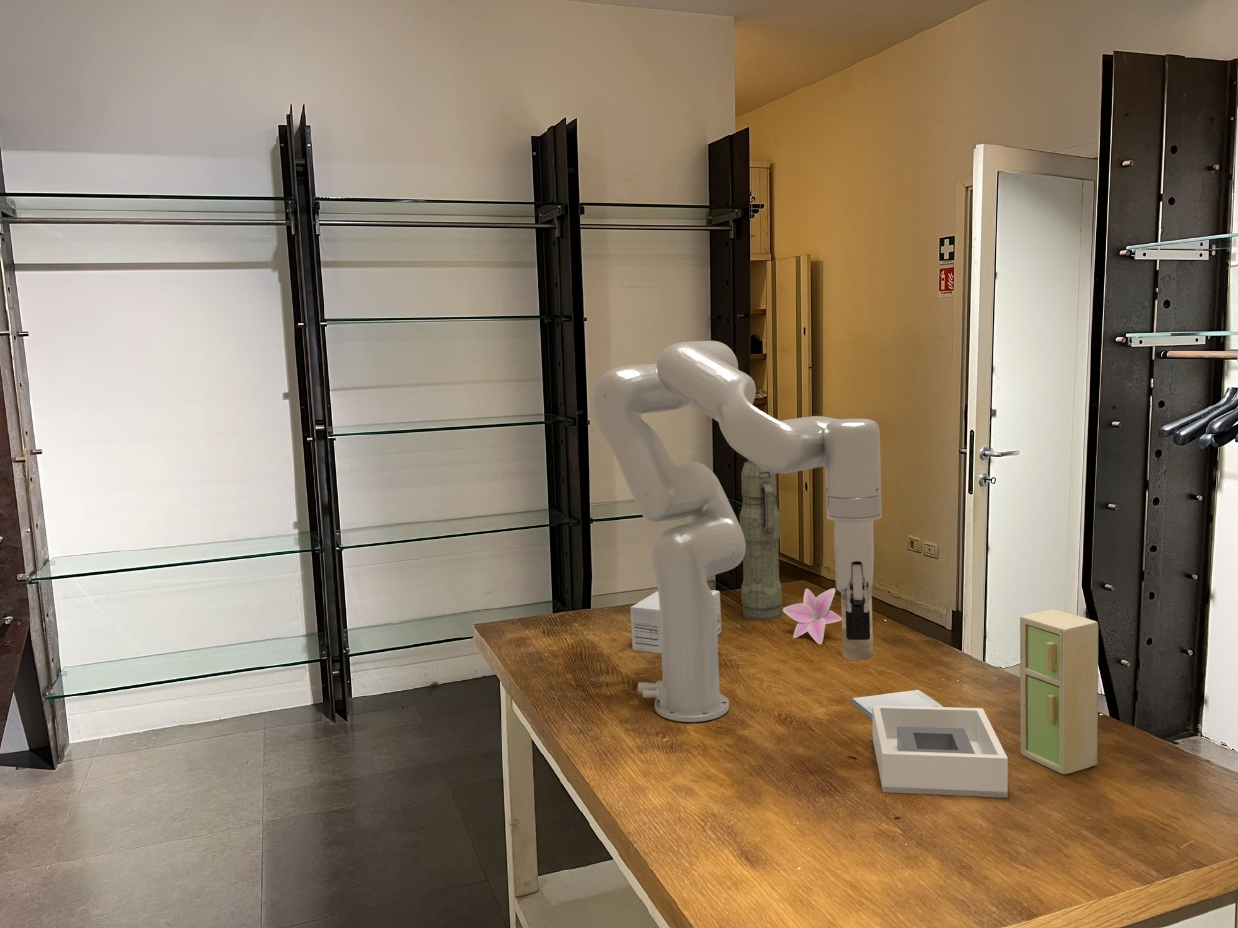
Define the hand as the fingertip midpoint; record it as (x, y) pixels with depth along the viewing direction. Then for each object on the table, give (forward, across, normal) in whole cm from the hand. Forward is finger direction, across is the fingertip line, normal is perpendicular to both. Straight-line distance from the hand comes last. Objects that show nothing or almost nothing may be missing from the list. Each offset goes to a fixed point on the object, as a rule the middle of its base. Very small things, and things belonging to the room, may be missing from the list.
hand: (857, 632), depth 133 cm
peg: (+3, 0, 0) cm, 3 cm away
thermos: (+19, -74, -18) cm, 78 cm away
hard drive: (+20, -22, +7) cm, 31 cm away
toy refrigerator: (+20, -4, +27) cm, 34 cm away
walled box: (+20, -1, +10) cm, 22 cm away
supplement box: (+19, -54, -35) cm, 67 cm away
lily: (+19, -59, -7) cm, 63 cm away
